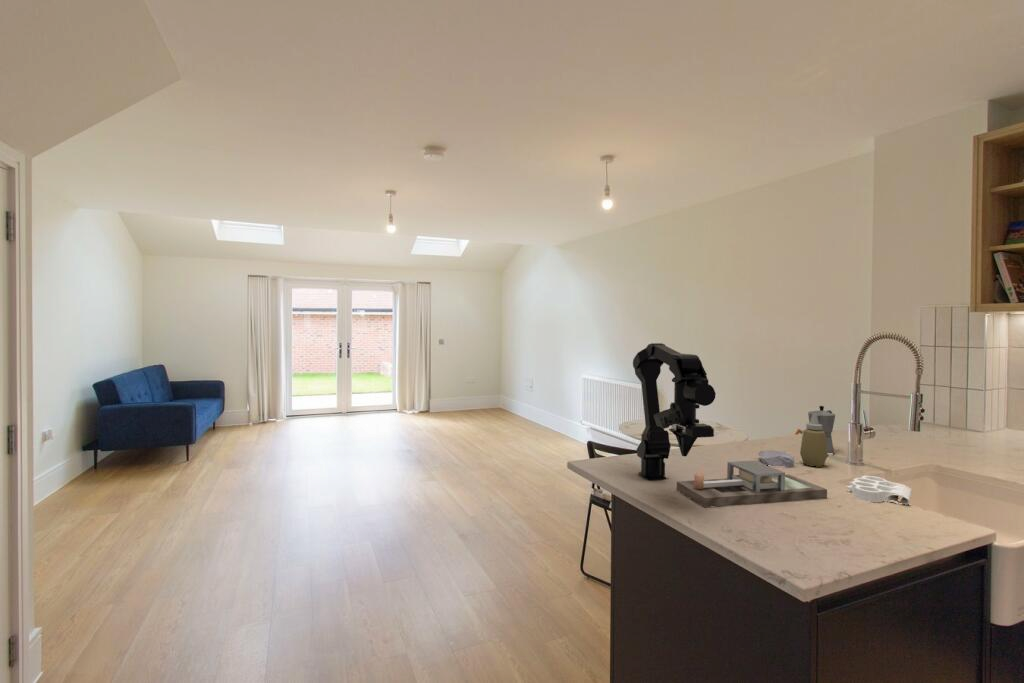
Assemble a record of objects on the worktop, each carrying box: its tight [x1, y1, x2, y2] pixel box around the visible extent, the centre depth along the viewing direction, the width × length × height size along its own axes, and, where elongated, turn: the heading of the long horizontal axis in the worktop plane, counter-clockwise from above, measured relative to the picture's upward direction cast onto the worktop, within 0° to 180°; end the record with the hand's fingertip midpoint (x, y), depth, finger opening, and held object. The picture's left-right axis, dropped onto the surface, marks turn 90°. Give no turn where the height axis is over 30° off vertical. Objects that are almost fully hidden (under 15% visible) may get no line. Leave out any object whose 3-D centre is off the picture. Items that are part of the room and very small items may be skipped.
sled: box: [694, 472, 778, 490], centre depth 137 cm, size 23×8×4 cm, turn 101°
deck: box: [676, 474, 828, 508], centre depth 138 cm, size 38×14×2 cm, turn 101°
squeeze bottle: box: [799, 414, 828, 468], centre depth 168 cm, size 8×8×18 cm
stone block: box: [758, 449, 795, 468], centre depth 171 cm, size 12×5×10 cm
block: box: [738, 469, 772, 484], centre depth 138 cm, size 6×6×4 cm
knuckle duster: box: [845, 475, 913, 506], centre depth 138 cm, size 3×18×15 cm
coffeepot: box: [807, 405, 836, 454], centre depth 186 cm, size 15×9×18 cm, turn 126°
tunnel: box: [726, 460, 786, 493], centre depth 138 cm, size 9×12×5 cm
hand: (684, 456), depth 134 cm, fingers closed
